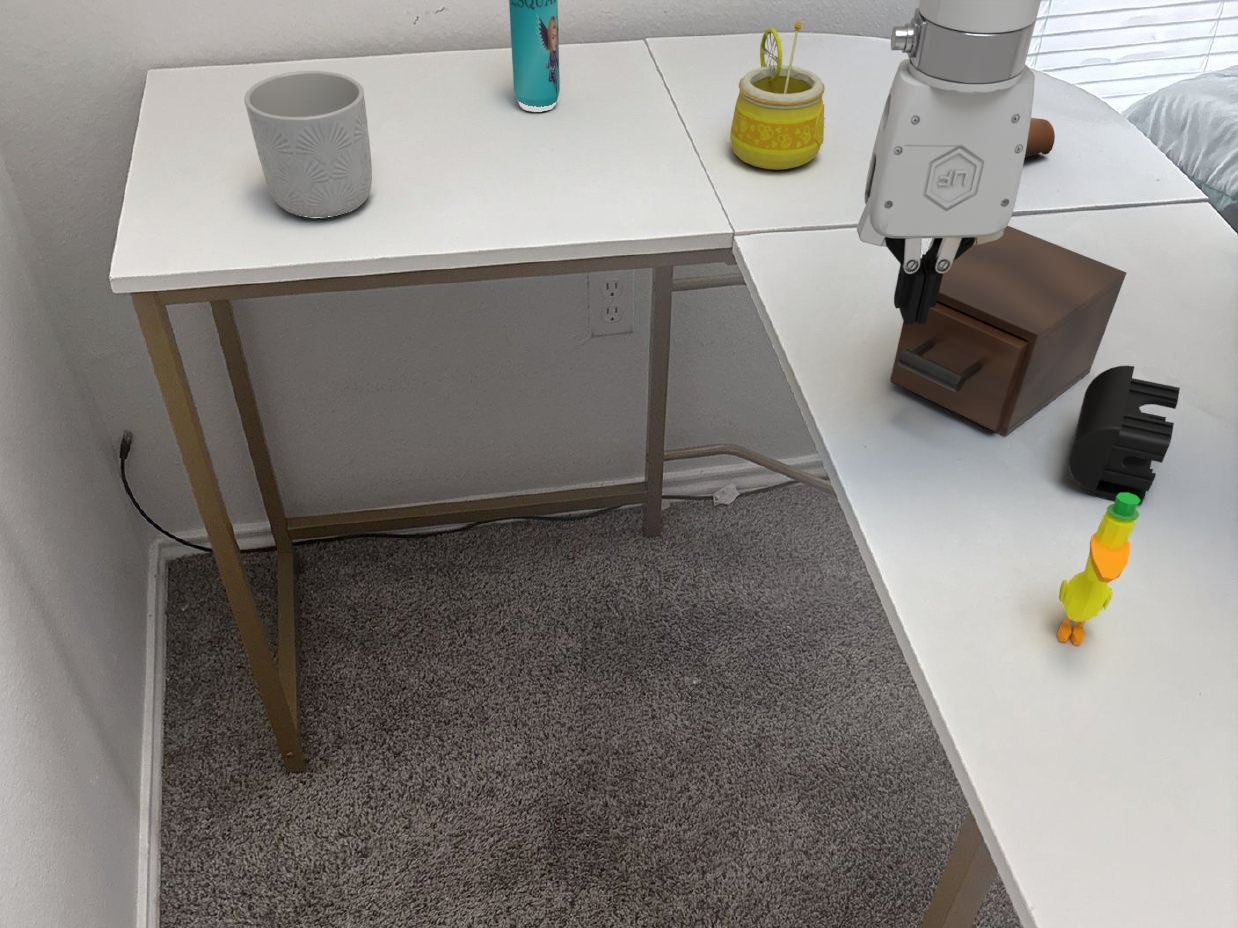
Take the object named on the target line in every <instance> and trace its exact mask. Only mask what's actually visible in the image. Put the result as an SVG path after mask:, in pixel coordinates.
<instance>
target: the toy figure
mask: <svg viewBox="0 0 1238 928" xmlns="http://www.w3.org/2000/svg"><path fill="white" fill-rule="evenodd" d="M1140 501H1141V500H1140V499H1139V498H1138V497H1137V496H1136V495H1134V494H1131V493H1119V494H1118V495H1117V496H1116V500H1115V501H1114V503H1111V504H1109V505H1107V507H1106V511H1105V512H1104V514H1103V516H1102V518H1101V521H1100V523H1099V526H1098V528H1097V530H1096V532H1094V533H1093V534H1092V535H1091V537H1090V541H1089V553H1088V556H1087V561H1086V564H1085V568H1084V570H1083V571H1081V572H1079V573H1077V574H1074V575H1073V577H1072V578H1071V579H1070V580H1069V582H1068V580H1067V579H1063V580H1062V581H1061V584H1060V587H1059V594H1058V600H1059V602H1060V603H1061V604H1062V607H1063V609H1064V612H1065V614H1066V616H1065V619H1064V621H1063V622H1061V623H1060V626H1059V628H1058V630H1057V632H1056V633H1057V634H1056V637H1057V640H1058V642H1059V643H1067V641H1069V639H1070V641H1071V643H1072V645H1074V646H1081V645H1082V643H1083V641H1084V639H1085V636H1086V631H1085V629H1084V628H1083V626H1084V624H1085V622H1086V621H1089V620H1090V619H1093V618H1095V617H1097V616H1098V615H1099V614H1100V612H1101V611H1102V610H1104V611H1105V610H1106V609H1107V608H1108V606H1109V603H1110V601H1111V599H1112V596H1113V594H1114V593H1113V591H1112V588H1111V587H1109V583H1111V582H1113V581H1114V580H1116V579H1118V578H1120V576H1121V574H1122V573H1123V572H1124V570H1125V568H1126V566H1127V565H1128V562H1129V557H1130V553H1131V542H1130V541H1129V537H1130V535H1131V533H1132V531H1133V529H1134V527H1135V525H1136V523H1137V520H1138V518H1139V516H1140V512H1139V510H1138V509H1136V508H1137V507H1138V506H1139V505H1138V504H1139V502H1140ZM1071 621H1074V622H1076V623H1077V624H1074V625H1072V626H1073V627H1071V625H1070V623H1071Z"/></svg>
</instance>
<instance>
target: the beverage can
mask: <svg viewBox="0 0 1238 928" xmlns="http://www.w3.org/2000/svg"><path fill="white" fill-rule="evenodd" d="M508 5H509V8H508V9H509V21H510V22H509V24H510V25H509V26H510V44H511V45H510V46H511V60H512V61H511V62H512V80H513V93H514V95H515V99H516V98H517V99H516V101H517V100H518V101H519V102H521V103H523V104H525V105H528V106H533V107H534V106H536V107H541V106H542V107H544V106H549V105H552V104H553V103H555V102H556V101H557V102H558V98H559V95H560V92H561V87H560V86H561V84H560V83H561V81H560V45H559V6H558V0H508ZM518 101H517V102H518ZM557 102H556V103H557Z"/></svg>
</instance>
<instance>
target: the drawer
mask: <svg viewBox="0 0 1238 928" xmlns="http://www.w3.org/2000/svg"><path fill="white" fill-rule="evenodd" d="M1027 345H1028V343H1027V340H1025V339H1023V338H1021V337H1018V336H1016V335H1014V334H1012V333H1009V332H1007V331H1005V330H1002V329H1000V328H998V327H996V326H993V325H991V324H989V323H987V322H984V321H982V320H980V319H977V318H975V317H973V316H971V315H968V314H966V313H964V312H961V311H959V310H957V309H955V308H952V307H950V306H948V305H946V304H943V303H941V302H939V301H937V302H936V306H935V308H929V312H928V316H927V321H926V324H918V323H916V322H914V323H912V324H911V325H905V324H904V322H903V321H902V325H901V329H900V333H899V338H898V343H897V348H896V353H895V356H894V361H893V364H892V365H893V366H892V370H891V375H890V379H889V380H890V382H891V381H893V382H895V383H897V384H899V385H901V386H903V387H905V388H907V389H909V390H908V391H910V390H911V391H910V392H912V391H913V392H912V393H914V392H916V393H918V394H920V395H922V396H924V397H926V398H928V399H930V400H932V401H934V402H936V403H938V404H940V405H942V406H941V407H943V406H944V407H943V408H945V407H946V408H945V409H947V408H949V409H951V410H953V411H955V412H957V413H959V414H961V415H963V416H965V417H967V418H969V419H971V420H973V421H975V422H974V423H976V422H977V423H976V424H978V423H979V424H978V425H980V424H982V425H984V426H986V427H988V428H990V429H992V430H994V431H995V430H996V429H998V428H999V427H1000V426H1002V424H1003V420H1004V417H1005V414H1006V411H1007V408H1008V405H1009V402H1010V398H1011V395H1012V392H1013V389H1014V386H1015V383H1016V380H1017V376H1018V373H1019V370H1020V367H1021V364H1022V361H1023V358H1024V354H1025V351H1026V348H1027ZM893 382H892V383H893ZM895 383H894V384H895ZM897 384H896V385H897ZM899 385H898V386H899ZM901 386H900V387H901ZM903 387H902V388H903ZM905 388H904V389H905ZM907 389H906V390H907ZM916 393H915V394H916ZM918 394H917V395H918ZM920 395H919V396H920ZM922 396H921V397H922ZM924 397H923V398H924ZM926 398H925V399H926ZM928 399H927V400H928ZM930 400H929V401H930ZM932 401H931V402H932ZM934 402H933V403H934ZM936 403H935V404H936ZM938 404H937V405H938ZM940 405H939V406H940ZM949 409H948V410H949ZM951 410H950V411H951ZM953 411H952V412H953ZM955 412H954V413H955ZM957 413H956V414H957ZM959 414H958V415H959ZM961 415H960V416H961ZM963 416H962V417H963ZM965 417H964V418H965ZM967 418H966V419H967ZM969 419H968V420H969ZM971 420H970V421H971ZM973 421H972V422H973ZM982 425H981V426H982ZM984 426H983V427H984ZM986 427H985V428H986ZM988 428H987V429H988ZM990 429H989V430H990ZM992 430H991V431H992ZM994 431H993V432H994Z"/></svg>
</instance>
